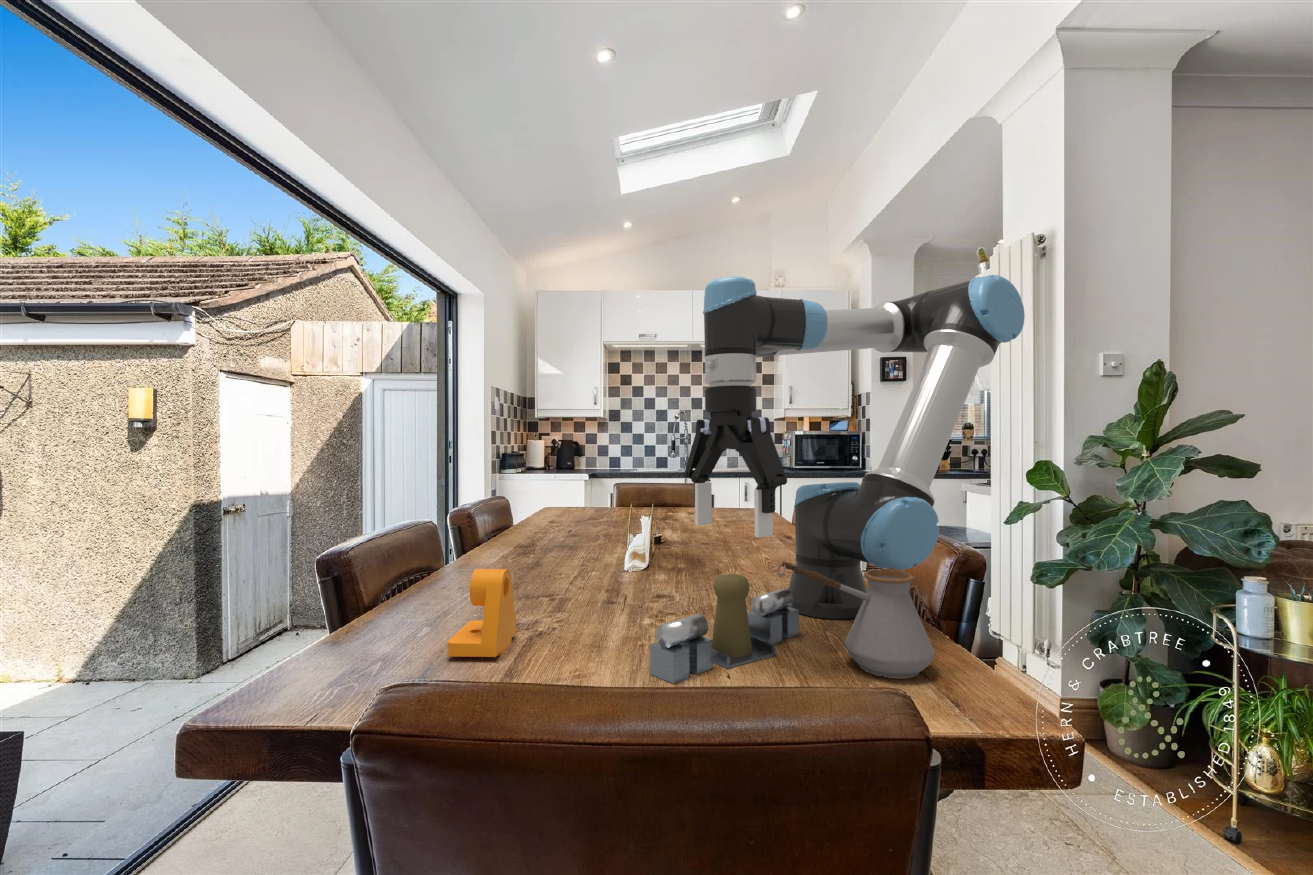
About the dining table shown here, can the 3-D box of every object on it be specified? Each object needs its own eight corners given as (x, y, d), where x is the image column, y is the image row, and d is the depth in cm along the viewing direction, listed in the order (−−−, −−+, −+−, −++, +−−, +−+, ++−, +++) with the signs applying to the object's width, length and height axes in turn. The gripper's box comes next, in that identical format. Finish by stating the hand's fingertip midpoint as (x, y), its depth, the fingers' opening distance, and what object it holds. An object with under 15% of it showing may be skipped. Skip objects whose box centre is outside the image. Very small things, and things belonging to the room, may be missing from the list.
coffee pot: (906, 651, 90) (906, 550, 90) (953, 682, 79) (952, 566, 78) (766, 657, 87) (765, 553, 87) (793, 691, 76) (792, 571, 76)
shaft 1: (688, 659, 87) (688, 610, 87) (712, 668, 83) (711, 617, 83) (650, 674, 82) (650, 622, 81) (673, 683, 78) (673, 629, 78)
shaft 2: (770, 645, 93) (770, 599, 92) (747, 638, 96) (747, 593, 96) (798, 634, 98) (798, 590, 98) (775, 627, 101) (775, 585, 101)
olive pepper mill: (736, 660, 85) (736, 582, 85) (702, 650, 89) (702, 575, 89) (760, 649, 90) (760, 574, 90) (727, 639, 94) (727, 568, 94)
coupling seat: (734, 638, 96) (734, 628, 96) (775, 655, 88) (775, 644, 88) (687, 649, 91) (687, 638, 91) (726, 668, 83) (726, 657, 83)
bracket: (470, 636, 97) (470, 561, 97) (515, 637, 97) (515, 562, 97) (445, 662, 86) (445, 577, 86) (496, 662, 86) (495, 577, 86)
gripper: (662, 390, 98) (663, 522, 98) (771, 377, 77) (773, 545, 77) (699, 391, 102) (700, 518, 102) (812, 380, 81) (814, 539, 81)
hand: (731, 530), depth 90 cm, fingers open, 13 cm apart
